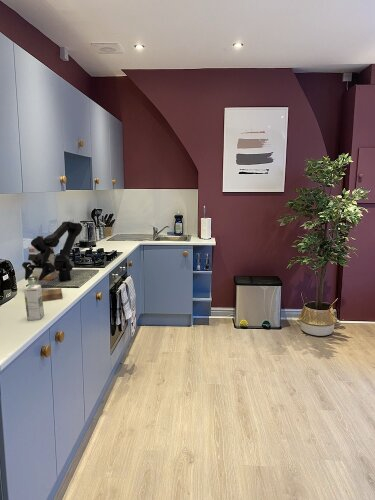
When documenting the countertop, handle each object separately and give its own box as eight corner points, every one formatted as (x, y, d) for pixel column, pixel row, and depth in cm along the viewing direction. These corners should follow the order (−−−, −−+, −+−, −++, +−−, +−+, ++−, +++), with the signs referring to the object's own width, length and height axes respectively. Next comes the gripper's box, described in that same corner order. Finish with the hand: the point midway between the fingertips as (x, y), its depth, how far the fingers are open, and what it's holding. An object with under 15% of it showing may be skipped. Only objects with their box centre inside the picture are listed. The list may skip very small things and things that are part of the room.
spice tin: (39, 291, 211) (37, 275, 209) (39, 294, 206) (37, 278, 204) (29, 292, 209) (27, 277, 207) (29, 295, 204) (27, 279, 202)
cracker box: (57, 278, 239) (53, 245, 235) (50, 280, 233) (46, 247, 230) (39, 277, 244) (34, 245, 240) (32, 279, 238) (28, 246, 234)
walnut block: (61, 293, 204) (61, 288, 204) (62, 298, 195) (61, 293, 195) (42, 296, 201) (41, 290, 201) (41, 301, 192) (41, 296, 191)
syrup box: (31, 316, 172) (27, 285, 169) (44, 315, 172) (40, 284, 169) (27, 320, 166) (22, 288, 163) (41, 319, 166) (36, 287, 164)
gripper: (21, 247, 211) (9, 271, 202) (49, 248, 204) (37, 272, 196) (33, 258, 219) (22, 282, 211) (60, 259, 213) (49, 283, 205)
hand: (32, 280), depth 205 cm, fingers open, 9 cm apart
